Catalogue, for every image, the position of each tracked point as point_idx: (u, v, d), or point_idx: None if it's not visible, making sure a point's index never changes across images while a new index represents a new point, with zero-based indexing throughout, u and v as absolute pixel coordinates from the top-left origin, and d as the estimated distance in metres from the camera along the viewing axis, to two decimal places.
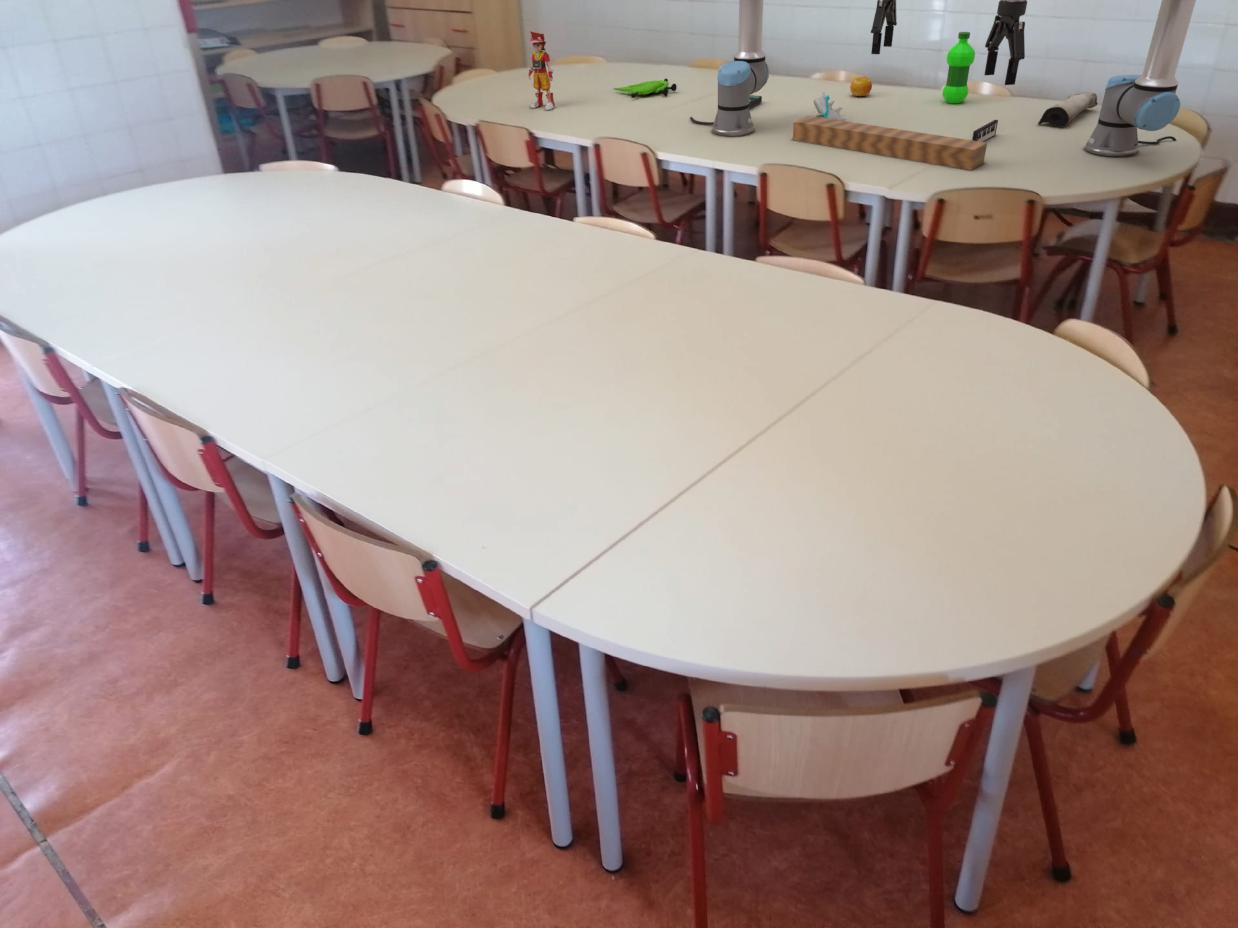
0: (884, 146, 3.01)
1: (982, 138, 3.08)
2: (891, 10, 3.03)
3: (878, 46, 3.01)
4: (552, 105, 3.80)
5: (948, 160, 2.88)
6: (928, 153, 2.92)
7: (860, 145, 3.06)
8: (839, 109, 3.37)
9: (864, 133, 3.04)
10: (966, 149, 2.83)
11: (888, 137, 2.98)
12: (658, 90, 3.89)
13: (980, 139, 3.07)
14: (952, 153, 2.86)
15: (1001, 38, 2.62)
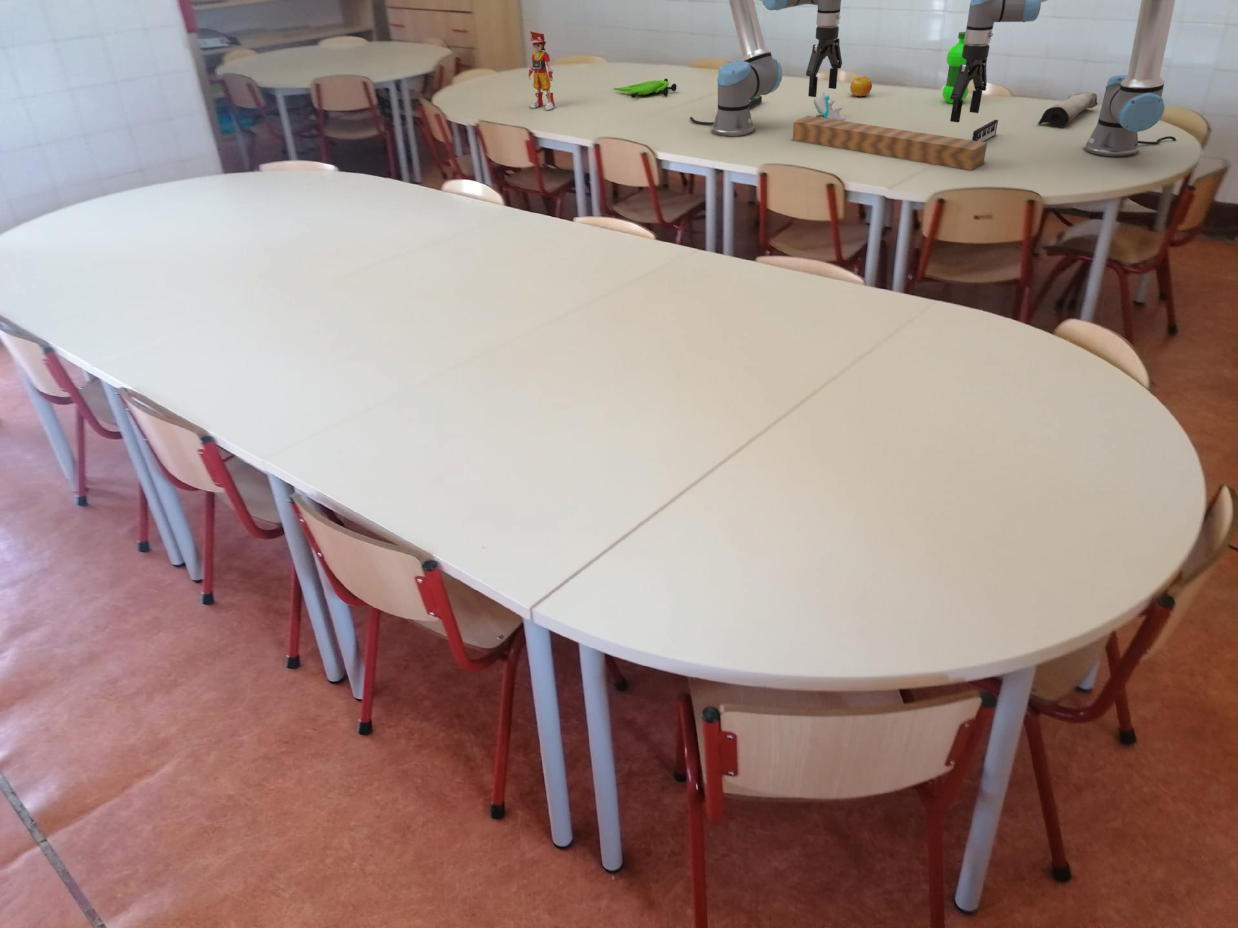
0: (884, 146, 3.01)
1: (982, 138, 3.08)
2: (832, 54, 3.08)
3: (814, 89, 3.07)
4: (552, 105, 3.80)
5: (948, 160, 2.88)
6: (928, 153, 2.92)
7: (860, 145, 3.06)
8: (839, 109, 3.37)
9: (864, 133, 3.04)
10: (966, 149, 2.83)
11: (888, 137, 2.98)
12: (658, 90, 3.89)
13: (980, 139, 3.07)
14: (952, 153, 2.86)
15: None
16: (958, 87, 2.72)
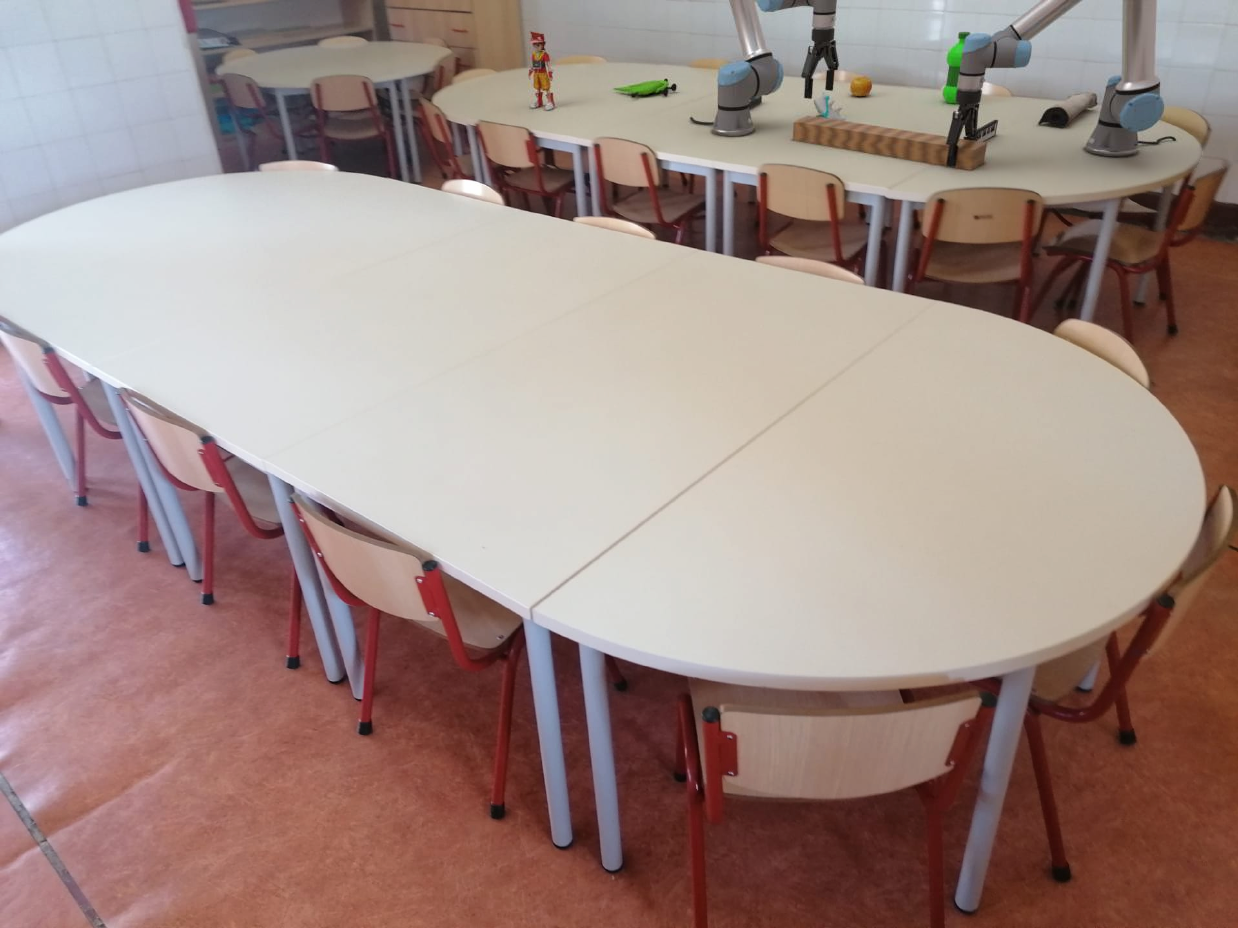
0: (884, 146, 3.01)
1: (982, 138, 3.08)
2: (828, 56, 3.08)
3: (810, 91, 3.07)
4: (552, 105, 3.80)
5: None
6: (928, 153, 2.92)
7: (860, 145, 3.06)
8: (839, 109, 3.37)
9: (864, 133, 3.04)
10: (966, 149, 2.83)
11: (888, 137, 2.98)
12: (658, 90, 3.89)
13: (980, 139, 3.07)
14: None
15: None
16: (953, 133, 2.80)
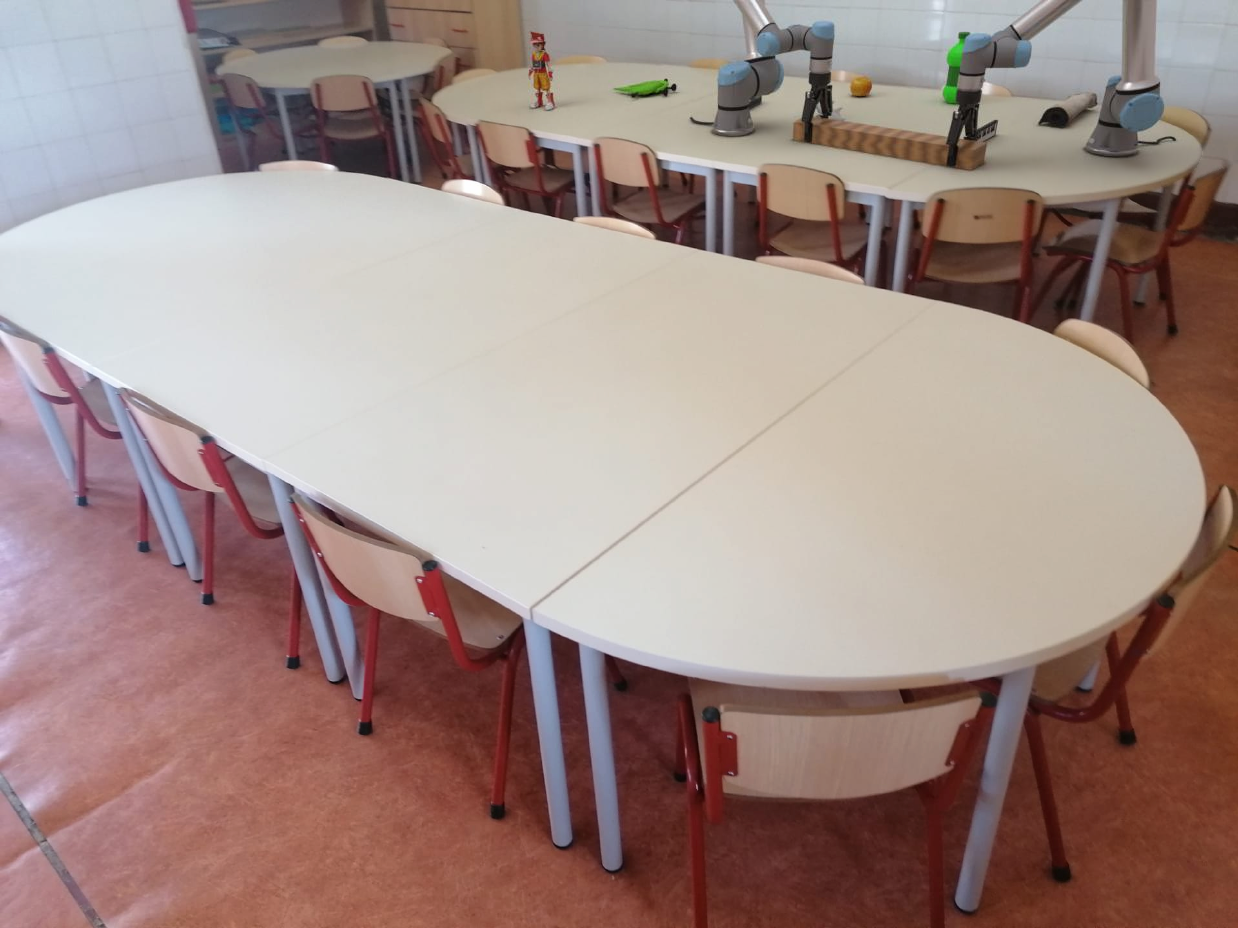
0: (884, 146, 3.01)
1: (982, 138, 3.08)
2: (824, 99, 3.15)
3: (809, 134, 3.17)
4: (552, 105, 3.80)
5: None
6: (928, 153, 2.92)
7: (860, 145, 3.06)
8: (839, 109, 3.37)
9: (864, 133, 3.04)
10: (966, 149, 2.83)
11: (888, 137, 2.98)
12: (658, 90, 3.89)
13: (980, 139, 3.07)
14: None
15: None
16: (953, 133, 2.80)
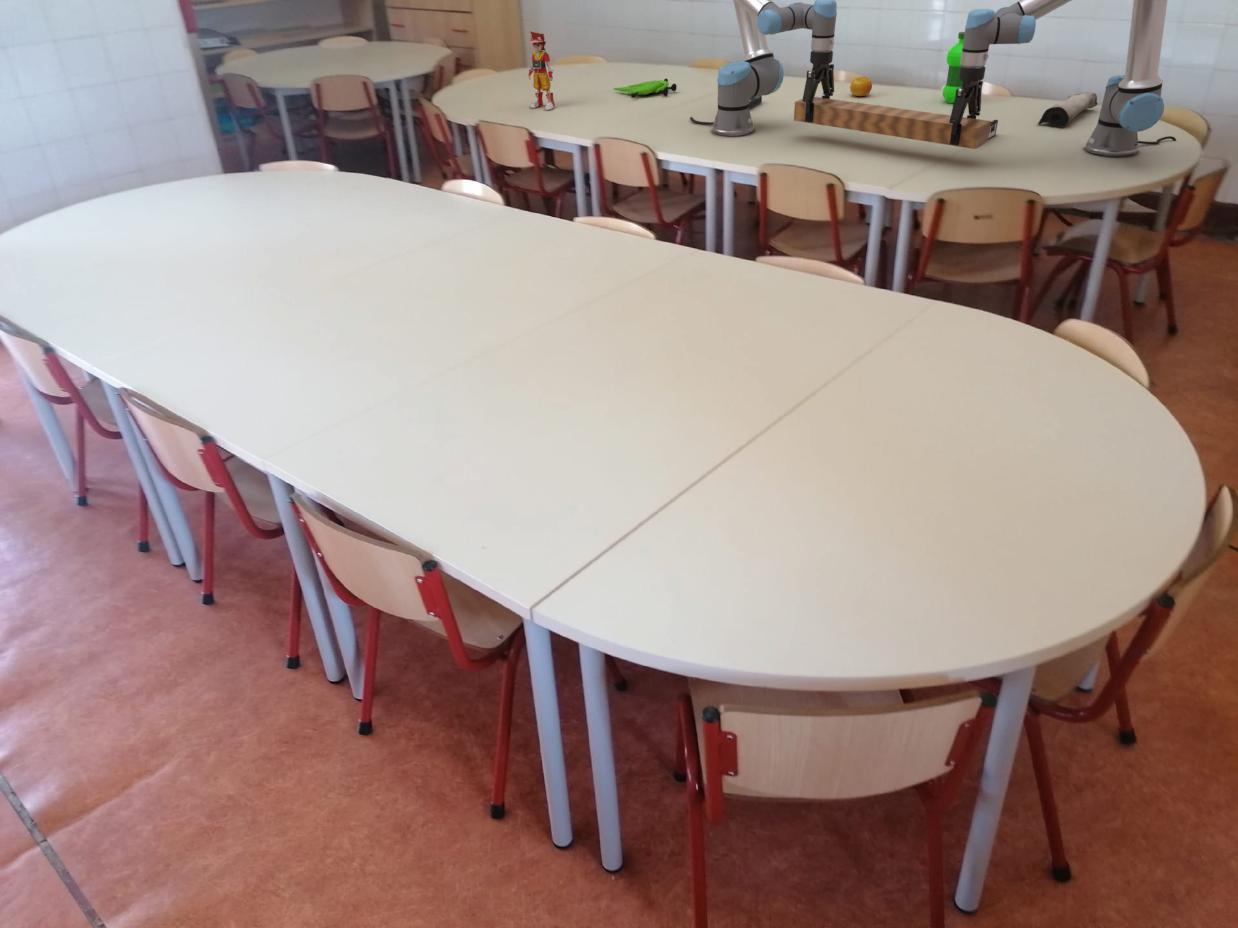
0: (886, 125, 2.97)
1: None
2: (826, 79, 3.12)
3: (810, 115, 3.13)
4: (552, 105, 3.80)
5: None
6: (931, 132, 2.88)
7: (862, 124, 3.03)
8: None
9: (866, 112, 3.00)
10: (969, 128, 2.79)
11: (890, 116, 2.95)
12: (658, 90, 3.89)
13: None
14: None
15: None
16: (956, 111, 2.77)
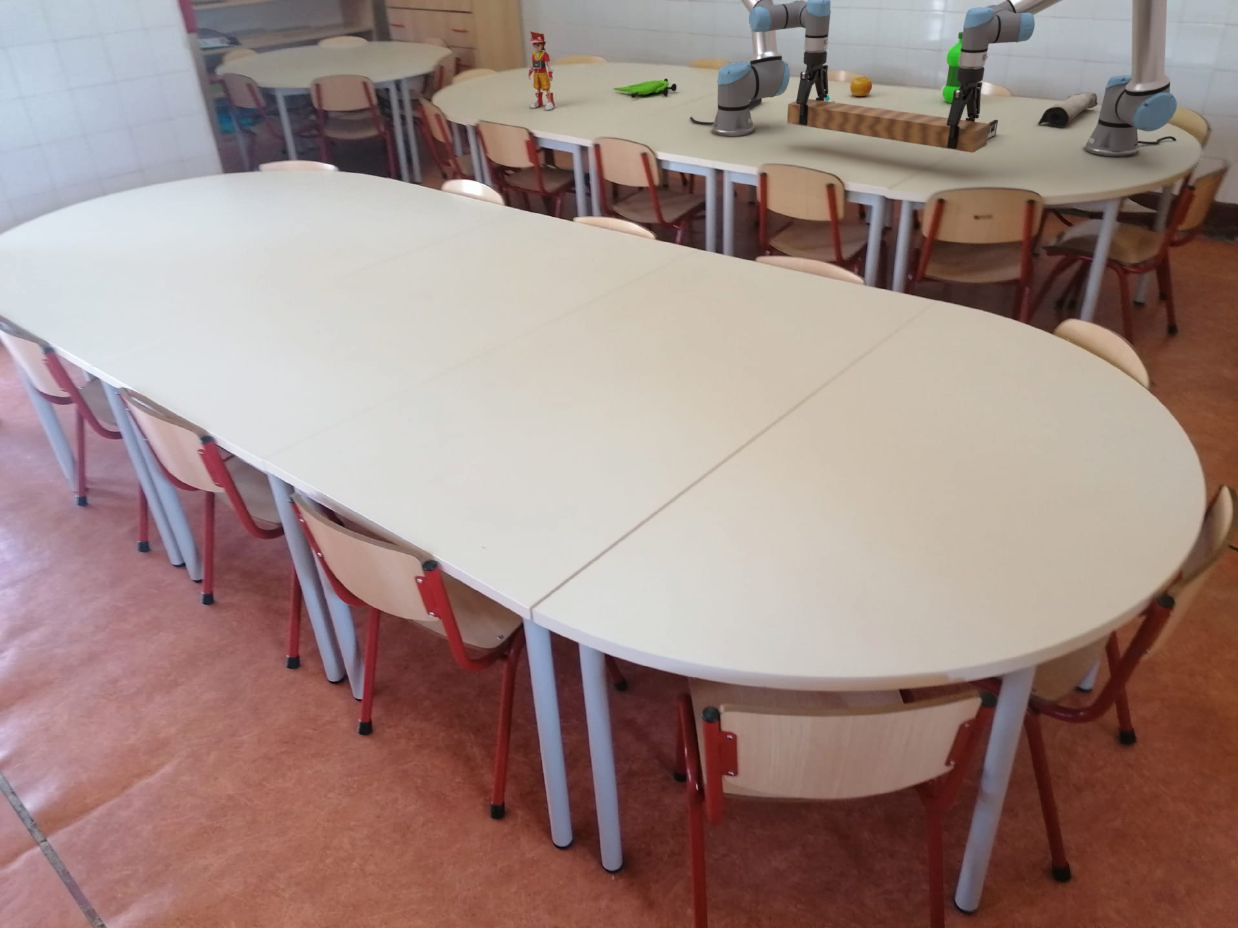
0: (882, 128, 2.87)
1: None
2: (820, 80, 3.02)
3: (805, 117, 3.03)
4: (552, 105, 3.80)
5: None
6: (927, 135, 2.78)
7: (857, 127, 2.93)
8: None
9: (861, 115, 2.90)
10: (968, 130, 2.69)
11: (886, 119, 2.85)
12: (658, 90, 3.89)
13: None
14: None
15: None
16: (953, 114, 2.67)
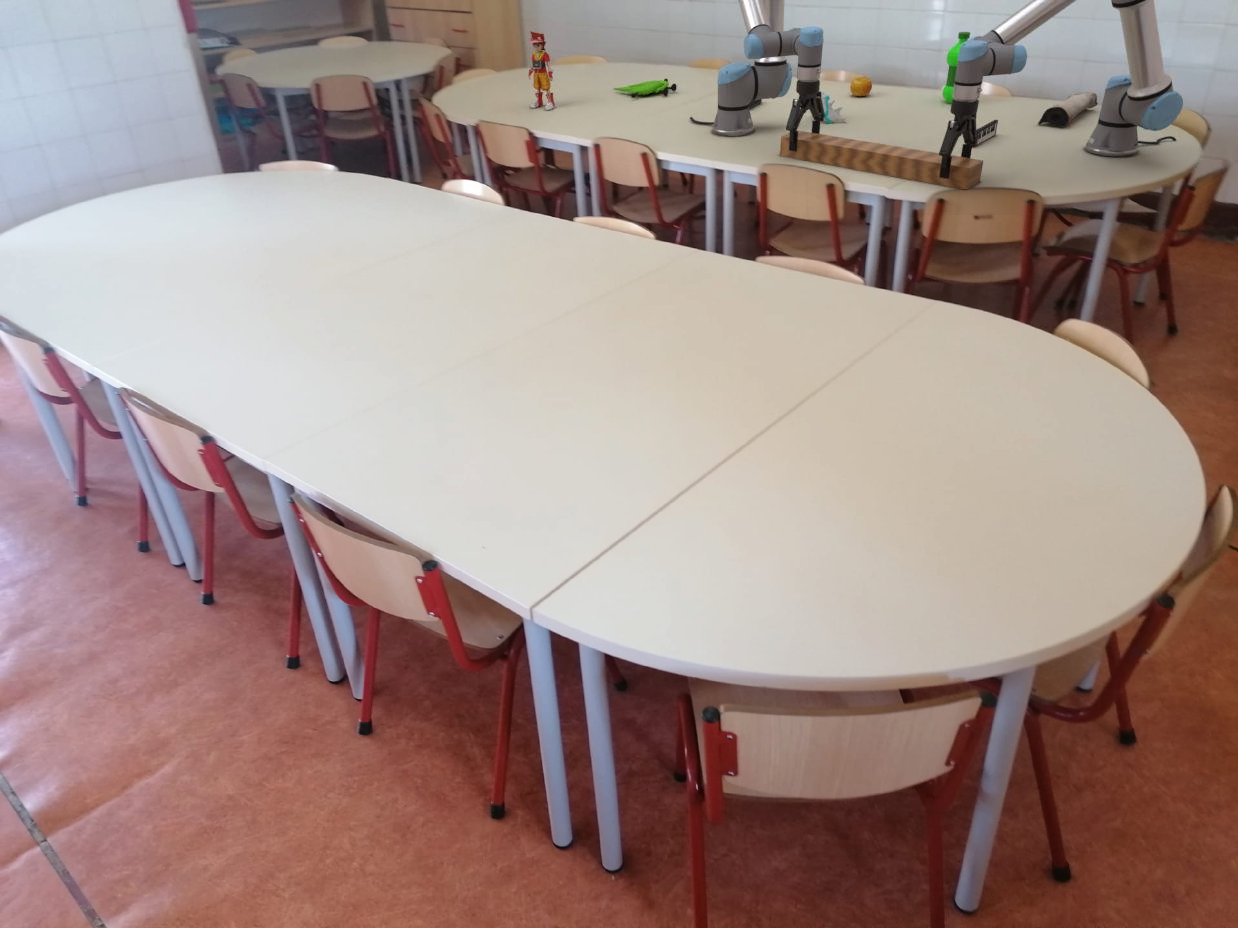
0: (875, 163, 2.86)
1: (982, 138, 3.08)
2: (814, 107, 3.00)
3: (794, 143, 2.99)
4: (552, 105, 3.80)
5: (943, 178, 2.73)
6: (921, 171, 2.77)
7: (850, 161, 2.91)
8: (839, 109, 3.37)
9: (854, 149, 2.89)
10: (961, 168, 2.68)
11: (879, 154, 2.83)
12: (658, 90, 3.89)
13: (980, 139, 3.07)
14: None
15: None
16: (947, 144, 2.63)
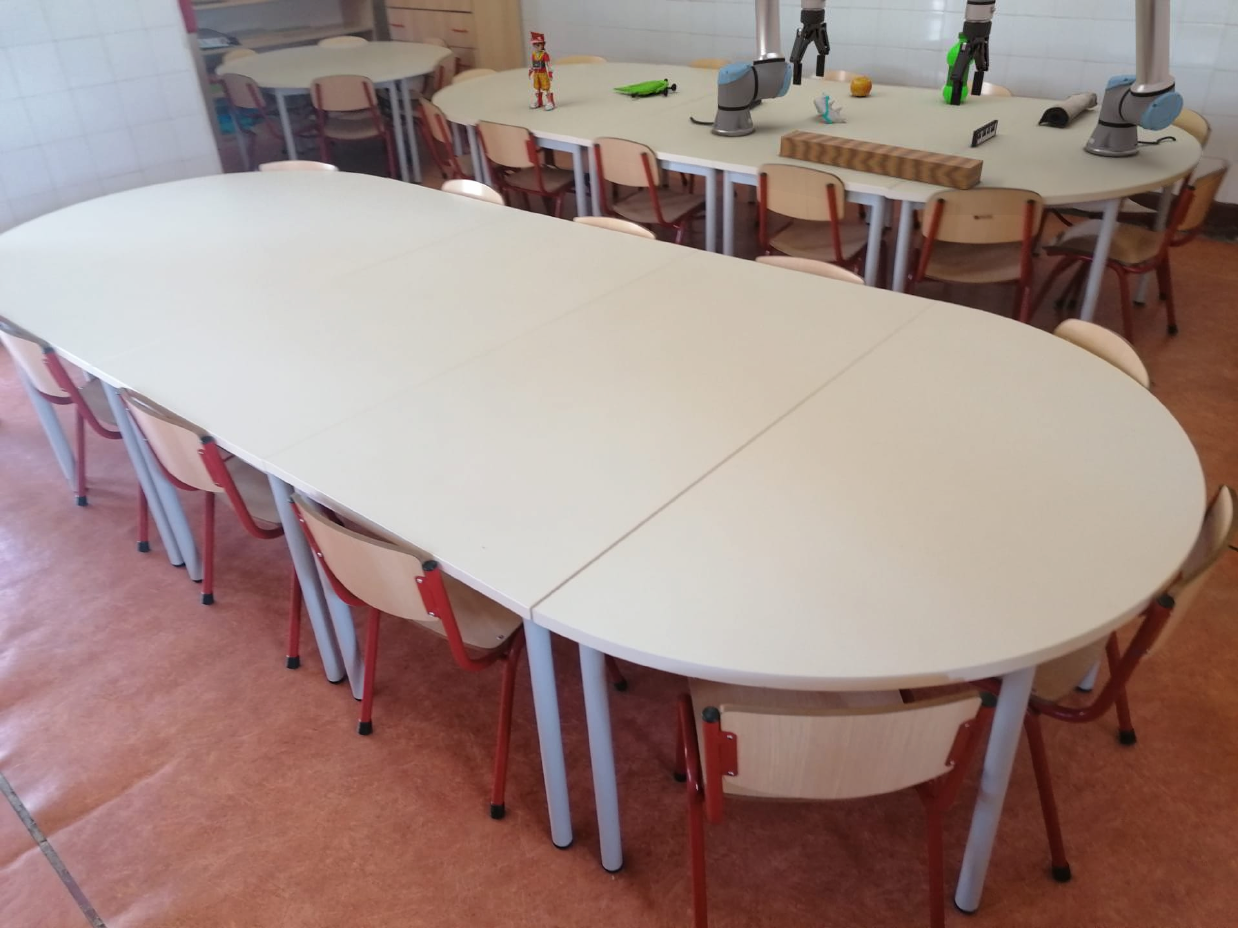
0: (875, 163, 2.86)
1: (982, 138, 3.08)
2: (819, 39, 2.88)
3: (798, 77, 2.87)
4: (552, 105, 3.80)
5: (943, 178, 2.73)
6: (921, 171, 2.77)
7: (850, 161, 2.91)
8: (839, 109, 3.37)
9: (854, 149, 2.89)
10: (961, 168, 2.68)
11: (879, 154, 2.83)
12: (658, 90, 3.89)
13: (980, 139, 3.07)
14: (946, 171, 2.71)
15: None
16: (958, 67, 2.51)
